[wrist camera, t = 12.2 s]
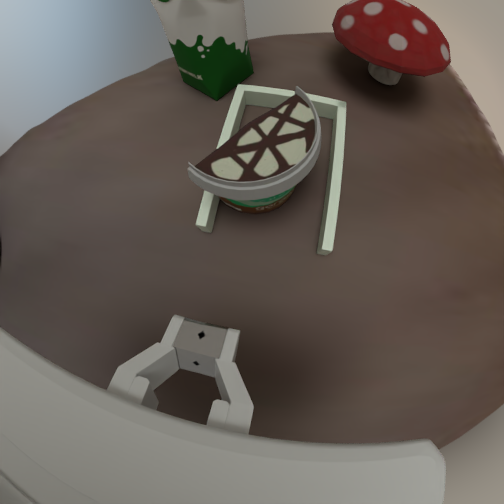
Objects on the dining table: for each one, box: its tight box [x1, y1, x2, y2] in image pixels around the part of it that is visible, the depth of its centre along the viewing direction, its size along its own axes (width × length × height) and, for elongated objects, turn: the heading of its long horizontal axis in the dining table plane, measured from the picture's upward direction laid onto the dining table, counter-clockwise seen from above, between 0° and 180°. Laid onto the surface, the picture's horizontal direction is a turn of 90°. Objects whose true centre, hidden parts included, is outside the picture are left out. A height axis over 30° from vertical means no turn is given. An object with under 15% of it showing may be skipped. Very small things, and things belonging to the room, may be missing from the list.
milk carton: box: [150, 0, 254, 101], centre depth 22 cm, size 9×9×20 cm
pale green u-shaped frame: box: [196, 84, 346, 255], centre depth 28 cm, size 13×18×3 cm
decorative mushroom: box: [332, 0, 451, 85], centre depth 23 cm, size 16×16×15 cm
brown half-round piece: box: [187, 86, 321, 214], centre depth 24 cm, size 12×6×10 cm, turn 131°
